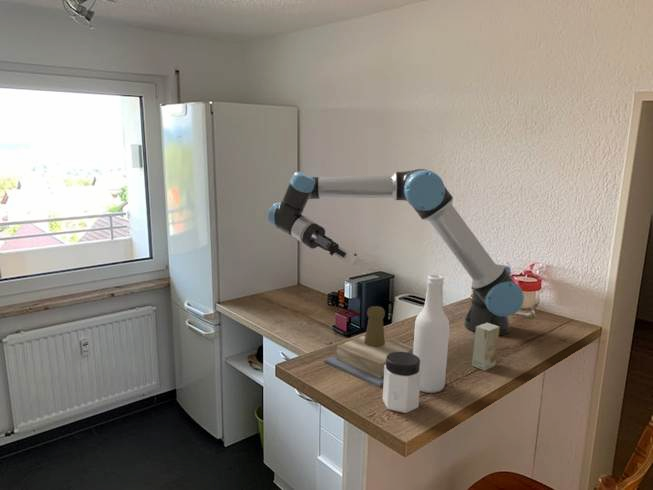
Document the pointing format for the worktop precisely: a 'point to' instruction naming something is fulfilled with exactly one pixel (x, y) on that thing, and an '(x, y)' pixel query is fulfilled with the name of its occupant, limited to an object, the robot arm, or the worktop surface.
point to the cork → (375, 327)
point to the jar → (401, 381)
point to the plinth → (365, 358)
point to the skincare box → (485, 346)
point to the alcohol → (432, 338)
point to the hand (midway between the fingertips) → (362, 265)
